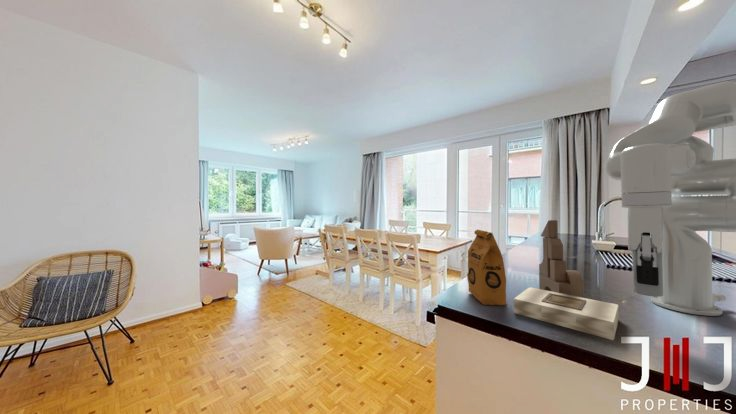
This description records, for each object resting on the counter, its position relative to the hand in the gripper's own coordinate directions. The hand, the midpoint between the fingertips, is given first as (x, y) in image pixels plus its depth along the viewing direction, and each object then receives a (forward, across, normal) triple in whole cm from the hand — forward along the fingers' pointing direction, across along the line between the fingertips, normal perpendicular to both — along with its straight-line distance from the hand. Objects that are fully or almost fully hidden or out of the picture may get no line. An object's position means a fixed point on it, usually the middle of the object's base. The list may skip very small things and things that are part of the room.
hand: (647, 280), depth 57 cm
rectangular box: (+13, +1, -15) cm, 20 cm away
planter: (+3, 0, 0) cm, 3 cm away
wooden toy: (+13, -16, -20) cm, 28 cm away
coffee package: (+13, +3, -35) cm, 37 cm away
